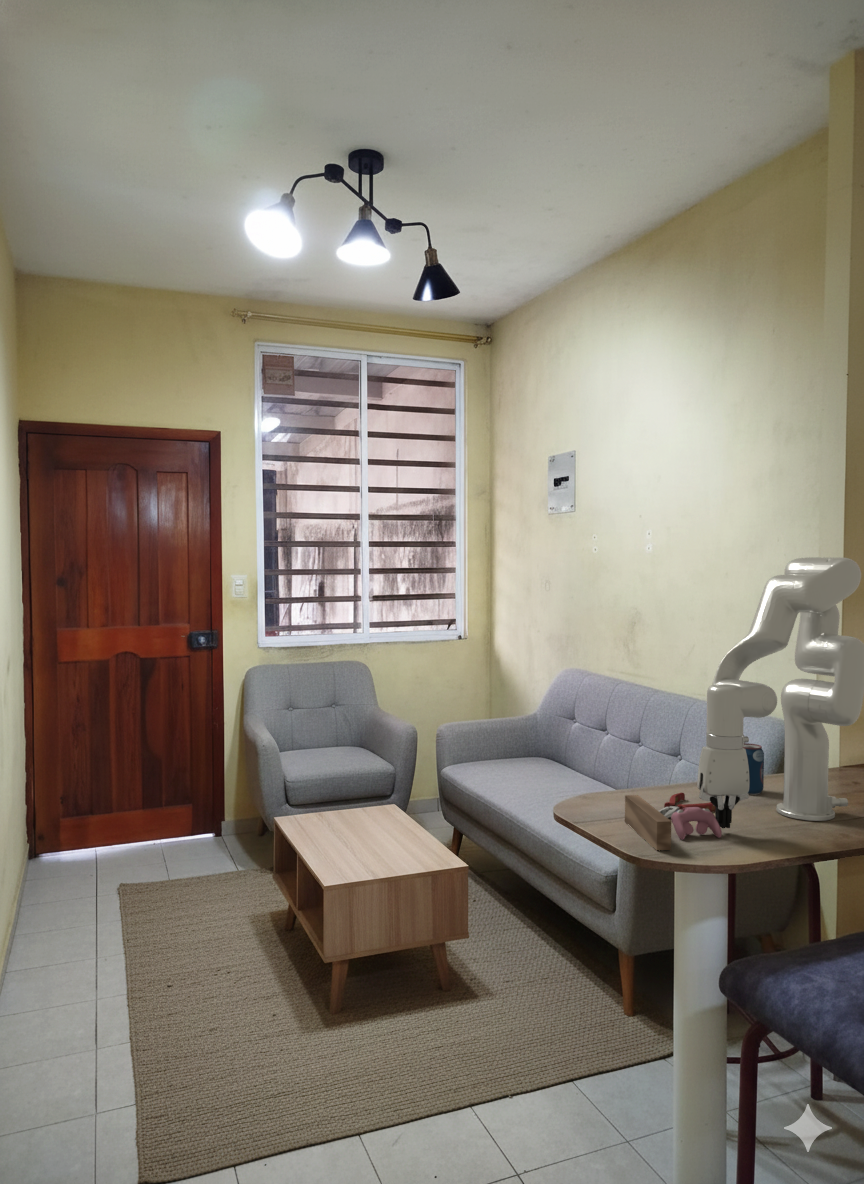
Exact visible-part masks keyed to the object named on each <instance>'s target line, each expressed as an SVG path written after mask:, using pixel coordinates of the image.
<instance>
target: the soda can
mask: <svg viewBox="0 0 864 1184" xmlns="http://www.w3.org/2000/svg"><path fill="white" fill-rule="evenodd" d="M762 747H763V746H762V745H761V744H756V743H749V742H748V743H744V747H743V748H744V749H745V750H746V754H747V759H748V766H749V792H748V796H749V795H750V796H751V795H752V796H755V795H760V794H761V793H762V792H763V790H764V785H765V784H764V780H765V779H764V778H765V777H764V774H765V752H764V750H763V748H762Z"/></svg>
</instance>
